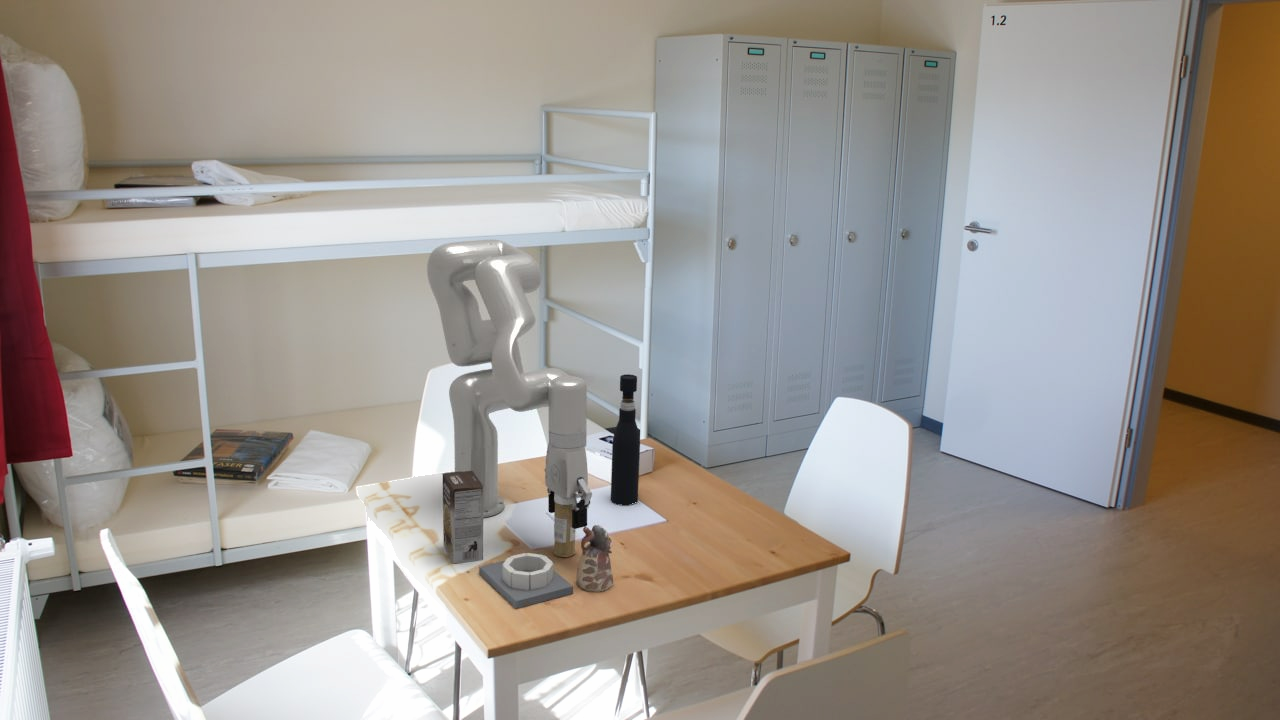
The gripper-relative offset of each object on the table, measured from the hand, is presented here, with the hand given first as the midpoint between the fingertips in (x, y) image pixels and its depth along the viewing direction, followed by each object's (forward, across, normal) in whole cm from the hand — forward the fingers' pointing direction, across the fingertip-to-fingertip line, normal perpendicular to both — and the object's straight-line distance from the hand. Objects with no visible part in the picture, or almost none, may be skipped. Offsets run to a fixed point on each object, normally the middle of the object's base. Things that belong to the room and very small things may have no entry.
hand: (567, 519), depth 204 cm
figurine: (+8, +14, -2) cm, 16 cm away
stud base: (+8, +8, -13) cm, 17 cm away
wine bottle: (+8, -19, +26) cm, 33 cm away
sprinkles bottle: (+8, -1, 0) cm, 8 cm away
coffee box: (+8, -11, -18) cm, 23 cm away
